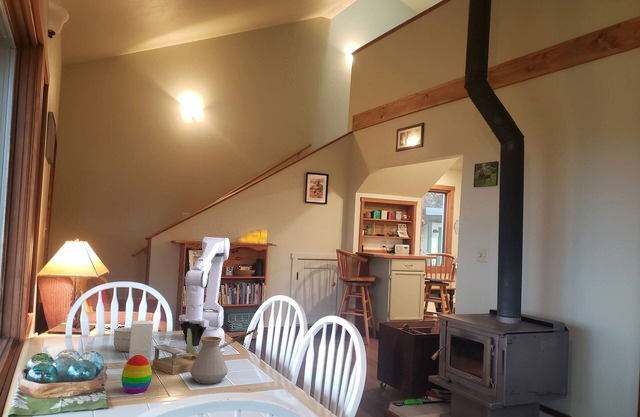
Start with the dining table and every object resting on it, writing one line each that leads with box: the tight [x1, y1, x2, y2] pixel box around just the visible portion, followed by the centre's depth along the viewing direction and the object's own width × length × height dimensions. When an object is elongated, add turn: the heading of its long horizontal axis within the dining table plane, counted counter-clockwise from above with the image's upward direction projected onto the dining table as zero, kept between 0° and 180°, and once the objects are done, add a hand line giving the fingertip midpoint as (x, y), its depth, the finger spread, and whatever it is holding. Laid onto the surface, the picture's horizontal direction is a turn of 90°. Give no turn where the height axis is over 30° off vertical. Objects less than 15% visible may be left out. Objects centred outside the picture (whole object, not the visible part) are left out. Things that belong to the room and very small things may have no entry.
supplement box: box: [128, 319, 154, 361], centre depth 175 cm, size 7×7×13 cm
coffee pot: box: [189, 328, 259, 385], centre depth 155 cm, size 21×12×15 cm, turn 121°
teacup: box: [113, 327, 131, 352], centre depth 184 cm, size 14×11×8 cm
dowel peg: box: [185, 328, 198, 354], centre depth 168 cm, size 3×3×8 cm
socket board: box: [151, 344, 199, 376], centre depth 166 cm, size 18×12×7 cm, turn 140°
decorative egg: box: [120, 355, 153, 394], centre depth 139 cm, size 8×8×10 cm
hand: (192, 344), depth 168 cm, fingers closed on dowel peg, 3 cm apart
